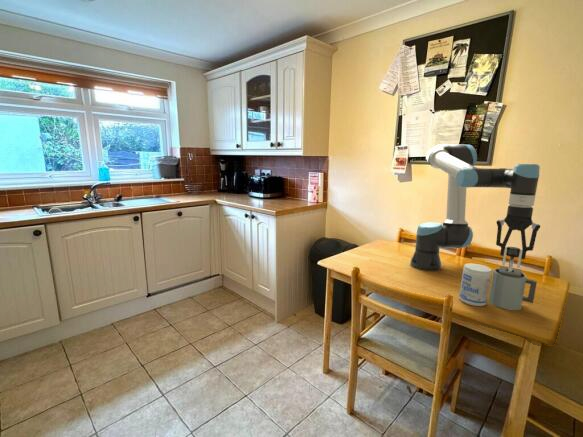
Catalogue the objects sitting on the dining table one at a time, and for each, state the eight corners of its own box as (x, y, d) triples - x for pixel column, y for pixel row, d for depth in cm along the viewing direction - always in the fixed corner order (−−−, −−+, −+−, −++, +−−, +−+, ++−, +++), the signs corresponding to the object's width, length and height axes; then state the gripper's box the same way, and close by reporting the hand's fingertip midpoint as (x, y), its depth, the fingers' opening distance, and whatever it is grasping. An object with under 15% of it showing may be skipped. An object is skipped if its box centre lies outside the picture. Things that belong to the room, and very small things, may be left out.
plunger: (493, 298, 117) (501, 248, 113) (494, 291, 123) (502, 244, 119) (517, 303, 113) (526, 252, 109) (517, 296, 119) (526, 247, 115)
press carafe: (487, 304, 117) (493, 271, 115) (490, 295, 126) (494, 264, 123) (531, 315, 109) (538, 280, 107) (531, 305, 117) (537, 271, 115)
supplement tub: (456, 301, 120) (461, 267, 117) (461, 294, 127) (465, 261, 124) (484, 309, 113) (490, 273, 111) (488, 301, 121) (493, 266, 118)
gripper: (492, 204, 113) (484, 263, 117) (551, 209, 103) (539, 273, 107) (494, 202, 119) (485, 258, 123) (549, 207, 109) (538, 267, 113)
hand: (510, 265), depth 115 cm, fingers closed on plunger, 4 cm apart
